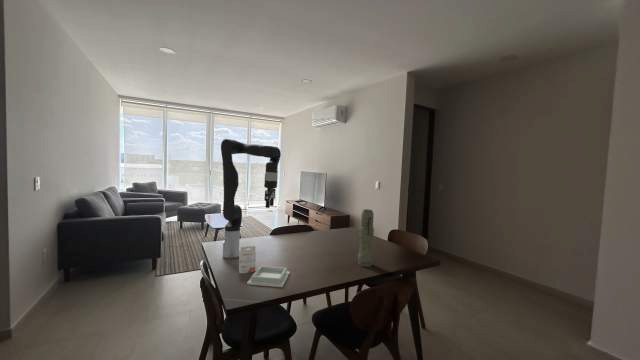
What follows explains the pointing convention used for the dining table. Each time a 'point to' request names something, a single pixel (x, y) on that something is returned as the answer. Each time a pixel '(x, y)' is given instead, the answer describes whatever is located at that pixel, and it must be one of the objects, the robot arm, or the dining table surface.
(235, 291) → the dining table surface
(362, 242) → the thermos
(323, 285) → the dining table surface
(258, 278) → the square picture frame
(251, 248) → the ink cartridge box
